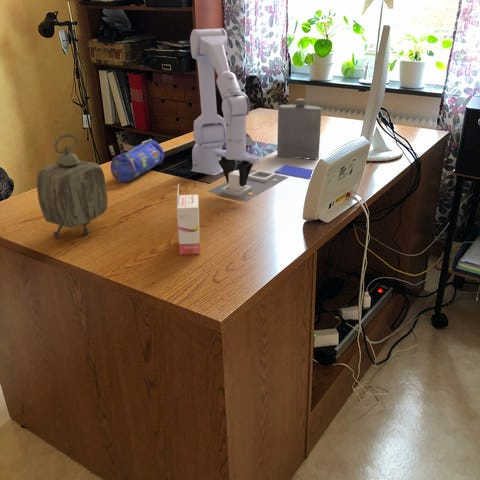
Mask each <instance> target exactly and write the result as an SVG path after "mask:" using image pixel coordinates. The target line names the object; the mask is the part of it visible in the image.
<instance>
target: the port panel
mask: <svg viewBox="0 0 480 480" xmlns="http://www.w3.org/2000/svg"><path fill="white" fill-rule="evenodd" d="M287 179H289V176H286V175H282V174H277V173H274V172H269V171H266V170H260V169H258V170H257V169H251V170H250V172H249V175H248V178H247V182H246V188H245V189H243V190H241V191H240V192H237V191H233V190H229V183H227V181H225V182H224V183H222V184H219V185H217V186H216V187H214V188H211V189H210V190H208V191H207V192H208V193H212V194H217V195H221V196H224V197H228V198H231V199H232V198H233V199H236V200H241V201H244V202H248V201H250V200H252V199H254V198H255V197H257V196H259V195H260V194H262V193H264V192H265V191H268V190H269V189H271V188H273V187H274V186H276V185H278V184H281V182H284V181H285V180H287Z"/></svg>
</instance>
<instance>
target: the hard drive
mask: <svg viewBox="0 0 480 480" xmlns="http://www.w3.org/2000/svg"><path fill="white" fill-rule="evenodd" d="M313 170H314V169H310V168H304V167H300V166H294V165H289V164H284V165H283V166H281V167H279V168H278V169H276V170H274V172H273V173H276V174H277V175H282V176H288V177H289V176H290V177H295V178H300V179H305V180H311V178H310V177H311V174H312V171H313Z"/></svg>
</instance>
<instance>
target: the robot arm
mask: <svg viewBox="0 0 480 480" xmlns="http://www.w3.org/2000/svg"><path fill="white" fill-rule="evenodd" d="M189 38H190V39H189V42H190V53H191V57H192V59H194V60H196V64H197V73H198V84H199V85H198V87H199V97H200V110H201V114H200V115H199V116H198V117H197V118H195V120H194V121H193V132H192V135H193V139H194V142H195V144H194V145H193V147H192V150H191V151H192V152H191V157H192V158H191V160H192V169H191V172H193V173H200V174H201V173H202V174H205V175H210V176H215V175H218V174H220V173H222V172H223V174H224V177H225V180H226V181H225V182H227V183H229V175H228V174H229V173H231V172H233V171H234V165H235V162H236V161H237V162H240V163H238V164H236V166H237V168H238V171H239V174H240V186H242V187H243V186H245V185H246V182H247V178H248V175H249V172H250V170H252V168H253V167H254V166H256V165H259V164H260V156H256V155H254V154H251V153H249V152H247V147H246V133H247V116H248V115H249V114H250V106H251V105H250V100H249V97H248V95H247V94H245V92H244V91H242V90H241V87H240V84H239V81H238V79H237V78H238V77H237V75H236V73H234V72H231V70H230V65H229V63H228V62H229V61H228V57H227V54H226V52H227V48H228V41H229V40H228V33H227V31H226V30H225V28H224V27H219V28H205V29H204V28H203V29H196V28H193V29H192V31H191V33H190V37H189ZM215 73H216V74H217V78H216V82H215ZM216 85H217V88H218V91H219V94H220V97H221V99H222V102H221V111H222V113H223V117H222V116H221V115H219V114H218V110H217V96H216ZM225 141H226V149H222V145H224V142H225Z"/></svg>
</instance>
